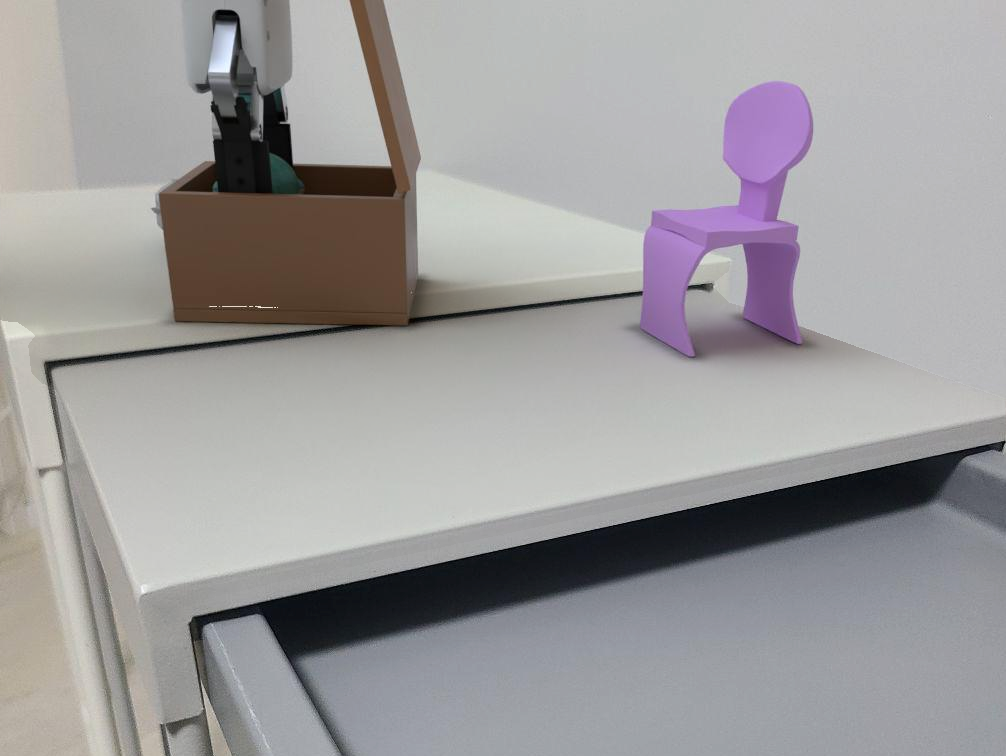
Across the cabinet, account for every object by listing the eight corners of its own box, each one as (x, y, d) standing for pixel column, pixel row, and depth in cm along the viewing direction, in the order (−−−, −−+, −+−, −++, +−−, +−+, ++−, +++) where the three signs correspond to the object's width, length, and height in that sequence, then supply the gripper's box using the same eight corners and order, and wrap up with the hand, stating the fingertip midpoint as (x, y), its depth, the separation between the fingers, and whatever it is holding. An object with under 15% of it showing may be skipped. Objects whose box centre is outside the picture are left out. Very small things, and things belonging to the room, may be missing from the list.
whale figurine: (219, 222, 66) (212, 158, 64) (210, 200, 72) (204, 140, 70) (314, 219, 68) (310, 156, 66) (298, 197, 74) (293, 139, 72)
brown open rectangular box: (174, 321, 67) (157, 193, 64) (216, 273, 78) (204, 160, 74) (407, 325, 68) (404, 199, 64) (418, 277, 79) (415, 166, 75)
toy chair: (625, 324, 70) (643, 75, 63) (738, 312, 73) (767, 74, 66) (691, 363, 63) (720, 90, 56) (812, 348, 67) (853, 89, 60)
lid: (324, -100, 57) (426, -124, 57) (349, -89, 68) (435, -109, 67) (398, 193, 64) (489, 173, 64) (410, 161, 75) (488, 144, 75)
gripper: (200, -114, 69) (229, 172, 77) (119, -138, 54) (165, 223, 62) (318, -109, 69) (333, 175, 78) (271, -131, 54) (296, 226, 62)
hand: (259, 194), depth 70 cm, fingers closed on whale figurine, 7 cm apart
